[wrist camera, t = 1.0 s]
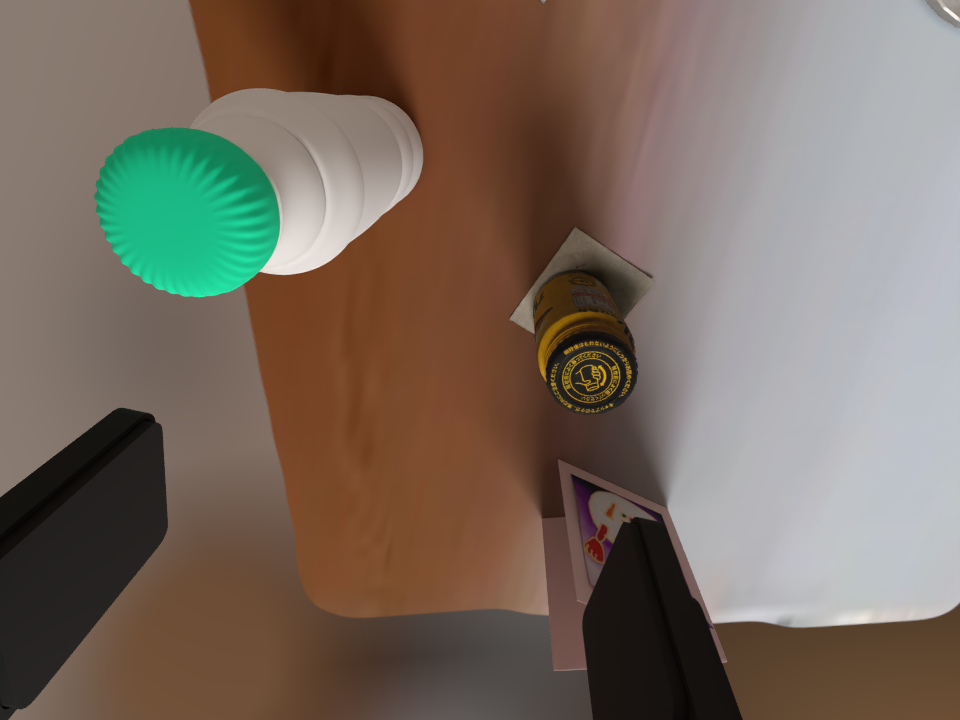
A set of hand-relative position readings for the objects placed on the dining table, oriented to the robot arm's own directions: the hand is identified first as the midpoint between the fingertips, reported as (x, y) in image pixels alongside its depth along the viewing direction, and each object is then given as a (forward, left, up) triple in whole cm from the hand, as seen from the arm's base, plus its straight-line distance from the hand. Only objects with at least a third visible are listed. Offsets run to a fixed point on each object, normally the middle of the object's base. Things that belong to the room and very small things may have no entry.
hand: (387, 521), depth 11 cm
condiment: (-1, +10, -31) cm, 33 cm away
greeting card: (+11, +26, -31) cm, 42 cm away
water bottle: (+2, -8, -31) cm, 32 cm away
